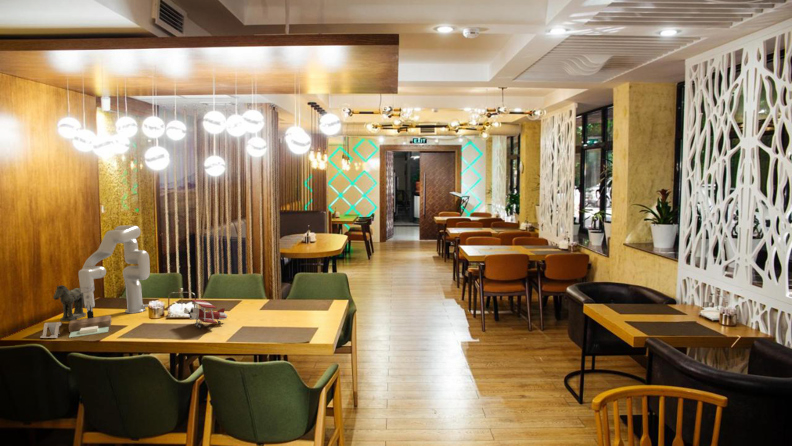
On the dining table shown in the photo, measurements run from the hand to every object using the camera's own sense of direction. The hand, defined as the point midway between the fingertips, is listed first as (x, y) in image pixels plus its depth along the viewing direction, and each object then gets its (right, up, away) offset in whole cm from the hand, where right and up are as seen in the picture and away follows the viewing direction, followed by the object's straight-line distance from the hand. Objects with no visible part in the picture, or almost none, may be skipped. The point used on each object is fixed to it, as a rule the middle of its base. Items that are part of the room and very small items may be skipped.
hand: (90, 317), depth 324 cm
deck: (-1, -6, +2) cm, 7 cm away
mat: (+5, -7, -10) cm, 13 cm away
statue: (-26, -5, +20) cm, 33 cm away
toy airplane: (+74, -4, -4) cm, 75 cm away
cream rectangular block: (+5, -5, -10) cm, 12 cm away
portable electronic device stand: (-13, -9, -17) cm, 23 cm away
